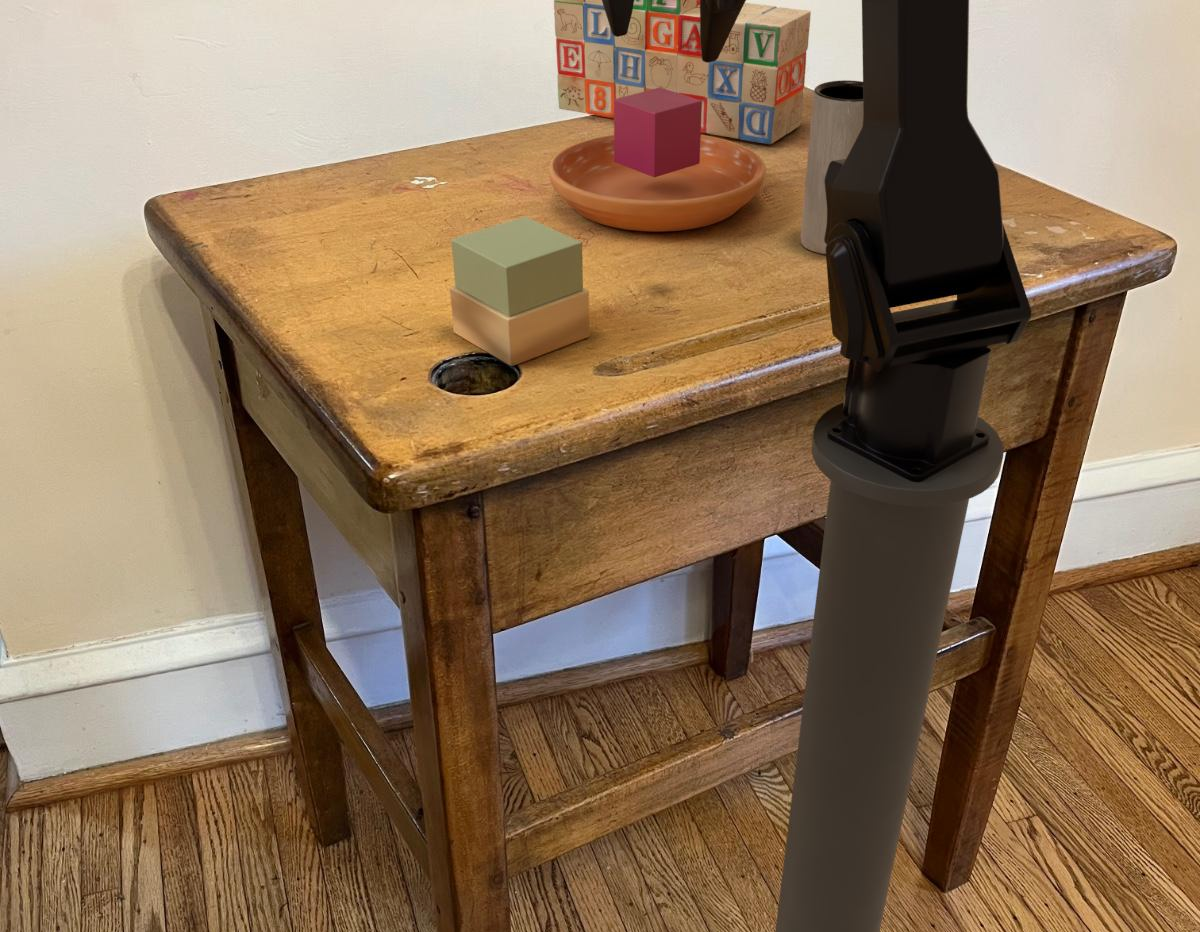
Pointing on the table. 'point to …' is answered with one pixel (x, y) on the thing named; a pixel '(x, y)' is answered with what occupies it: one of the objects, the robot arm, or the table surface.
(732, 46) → the stack of blocks
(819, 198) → the grey hollow cylinder
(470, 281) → the sage middle block
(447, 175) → the table surface
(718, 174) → the saucer
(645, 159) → the mulberry block
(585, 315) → the beech base block
